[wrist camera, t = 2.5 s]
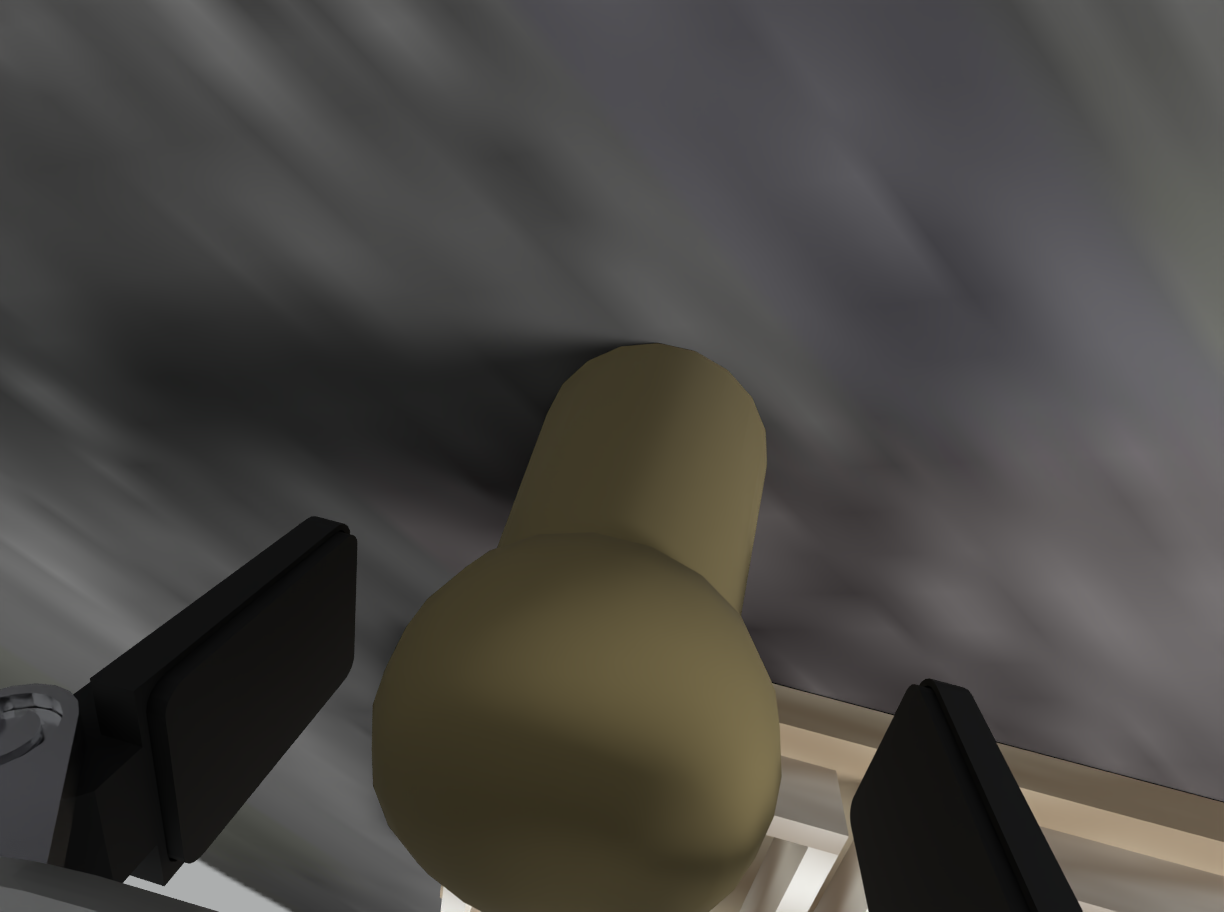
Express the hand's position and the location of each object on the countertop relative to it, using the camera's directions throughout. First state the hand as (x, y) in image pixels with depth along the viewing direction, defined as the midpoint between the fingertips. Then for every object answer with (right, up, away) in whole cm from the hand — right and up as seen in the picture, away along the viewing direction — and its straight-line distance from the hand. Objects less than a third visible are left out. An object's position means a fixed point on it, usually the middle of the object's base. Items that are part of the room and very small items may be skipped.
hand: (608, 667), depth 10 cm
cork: (+1, +4, +6) cm, 7 cm away
